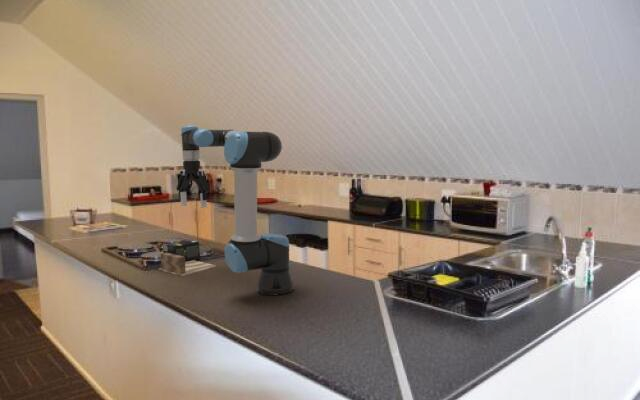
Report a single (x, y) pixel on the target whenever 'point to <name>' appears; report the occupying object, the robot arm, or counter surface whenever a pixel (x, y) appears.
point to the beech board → (194, 267)
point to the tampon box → (183, 249)
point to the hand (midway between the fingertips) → (193, 206)
